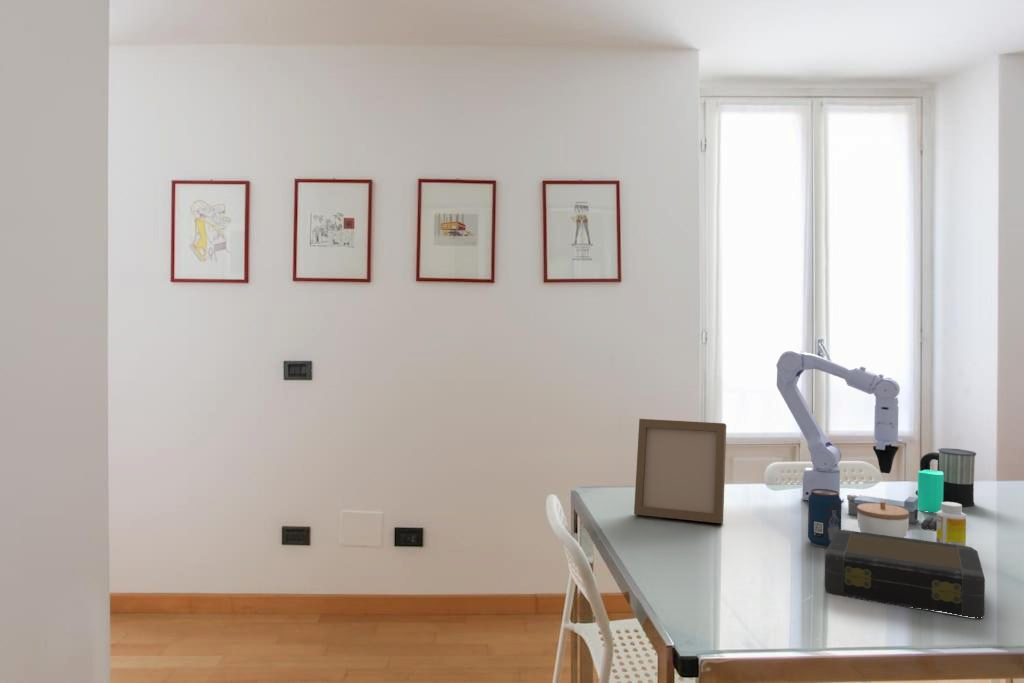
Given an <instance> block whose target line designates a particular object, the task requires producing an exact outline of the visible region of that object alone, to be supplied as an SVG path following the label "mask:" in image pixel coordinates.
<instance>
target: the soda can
mask: <svg viewBox="0 0 1024 683" xmlns="http://www.w3.org/2000/svg"><path fill="white" fill-rule="evenodd" d="M840 498H841V496H840V497H839V493H838V492H837V491H833V490H828V489H813V490H811V494H810V496H809V498H808V502H807V505H808V506H807V508H808V509H807V510H808V511H807V538H808V540H809V541H810V543H811V545H813V546H815V547H820V548H825V549H826V548H827V549H828V547H829V544H830V542H831V539H832V537H833V534H834V532H835V531H838V530H842V502H843V501H841V499H840Z"/></svg>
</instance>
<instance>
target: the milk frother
mask: <svg viewBox="0 0 1024 683" xmlns="http://www.w3.org/2000/svg"><path fill="white" fill-rule="evenodd" d="M937 451H938V452H935V451H933V452H928V453H925V454H924V455H923V456H922V457H921V459H920V463H919V469H920V470H919V471H923V470H931V462H932V460H934V461H937V470H936V471H942V472H943V473H944V486H943V502H954V503H959V504H961V505H962V507H972V506H975V501H974V500H975V499H974V497H975V496H974V493H975V491H974V485H975V484H974V481H975V464H976V463H975V459H976V455H977V452H976V451H971V450H967V449H961V448H960V449H959V448H949V447H947V448H946V447H945V448H943V447H942V448H939V449H937ZM915 495H916V497H918V489H917V490H916V491H915Z"/></svg>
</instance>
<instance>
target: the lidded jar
mask: <svg viewBox="0 0 1024 683" xmlns="http://www.w3.org/2000/svg"><path fill="white" fill-rule="evenodd" d="M856 517H857V519H856V520H857V524H858V528H859V532H864V533H871V534H879V535H886V536H894V537H901V538H906V536H907V533H908V530H909V525H910V524H909V511H908V510H906V509H904V508H901V507H897V506H893V505H887V504H885V502H883V501H881V502H880V504H877V503H866V504H860V505H858V506H857V516H856Z"/></svg>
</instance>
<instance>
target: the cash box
mask: <svg viewBox="0 0 1024 683" xmlns="http://www.w3.org/2000/svg"><path fill="white" fill-rule="evenodd" d="M824 554H825V555H824V590H825V591H826V592H827V593H828V592H829V593H828V594H831V593H832V595H835V594H836V596H840V595H842V596H841V597H846V596H848V598H852V597H855V598H854V599H857V598H860V599H859V600H863V599H865V601H869V600H871V601H870V602H874V601H876V603H880V602H881V603H882V604H886V603H887V605H892V604H893V605H892V606H897V605H899V606H898V607H903V606H905V607H904V608H909V607H913V608H912V609H914V608H921V609H928V610H934V611H942V612H947V613H952V614H957V615H962V616H968V617H975V618H977V617H978V618H981V617H983V616H985V600H986V599H985V592H986V590H985V589H986V579H985V574H984V571H983V568H982V567H983V566H982V564H981V559H980V556H979V553H978V550H976V549H975V548H973V547H972V546H968V545H966V546H961V545H954V544H946V543H939V542H936V541H930V540H924V539H917V538H916V539H915V538H908V537H907V538H906V537H904V538H901V537H894V536H886V535H879V534H871V533H864V532H861V531H854V530H849V529H848V530H847V529H841V530H838V531H835V532H834V534H833V537H832V539H831V542H830V544H829V547H828V548H827V549H826V552H825V553H824ZM983 618H984V617H983ZM981 619H982V618H981Z"/></svg>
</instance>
